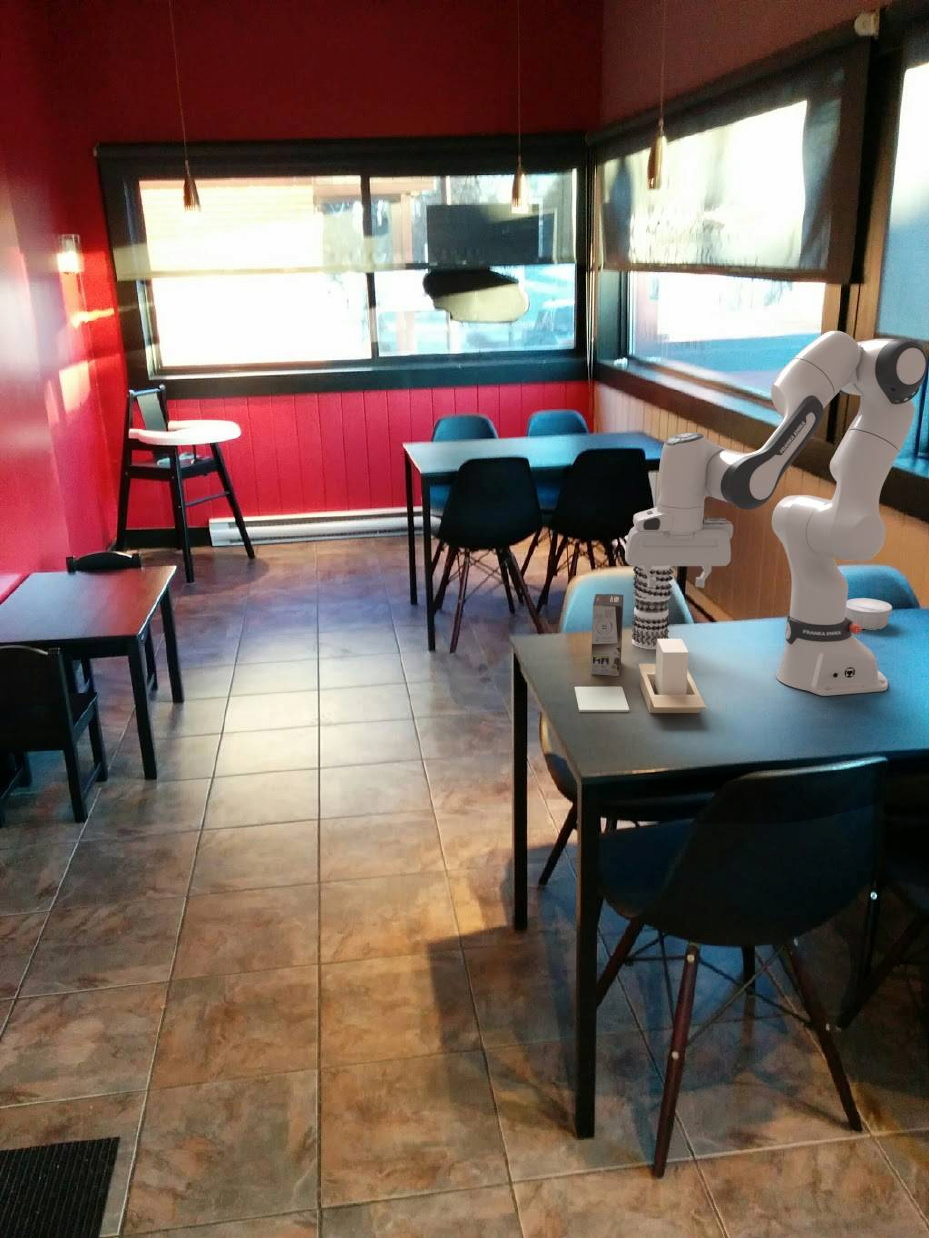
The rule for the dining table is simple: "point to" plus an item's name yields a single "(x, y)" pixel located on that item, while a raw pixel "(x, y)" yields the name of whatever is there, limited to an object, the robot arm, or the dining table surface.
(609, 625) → the coffee box
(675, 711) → the beige hollow rectangular block
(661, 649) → the cream box
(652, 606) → the decorative candle
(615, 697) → the white rectangular plate
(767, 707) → the dining table surface
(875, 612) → the ramekin
